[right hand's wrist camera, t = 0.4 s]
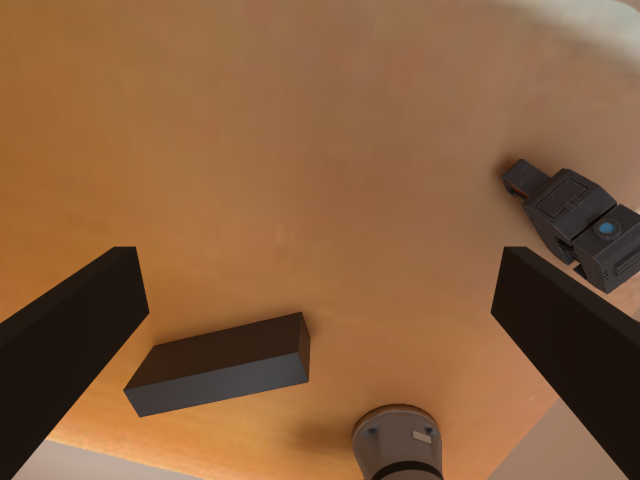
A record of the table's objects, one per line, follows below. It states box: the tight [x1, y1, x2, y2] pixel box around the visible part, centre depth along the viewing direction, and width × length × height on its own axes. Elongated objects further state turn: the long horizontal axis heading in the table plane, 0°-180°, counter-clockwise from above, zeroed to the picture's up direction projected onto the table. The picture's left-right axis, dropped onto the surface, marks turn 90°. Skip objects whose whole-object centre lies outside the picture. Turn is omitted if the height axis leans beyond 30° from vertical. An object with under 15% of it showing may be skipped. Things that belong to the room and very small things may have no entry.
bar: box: [123, 312, 310, 417], centre depth 50 cm, size 24×5×9 cm, turn 105°
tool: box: [501, 159, 640, 294], centre depth 42 cm, size 6×19×15 cm, turn 48°
